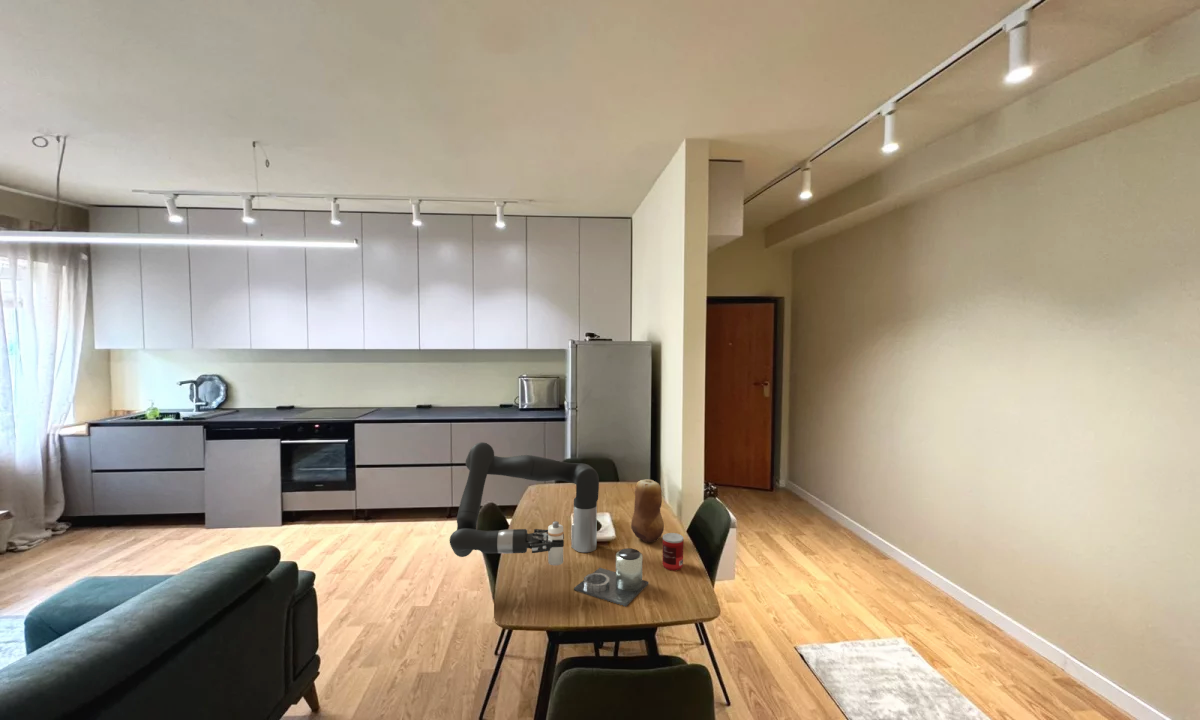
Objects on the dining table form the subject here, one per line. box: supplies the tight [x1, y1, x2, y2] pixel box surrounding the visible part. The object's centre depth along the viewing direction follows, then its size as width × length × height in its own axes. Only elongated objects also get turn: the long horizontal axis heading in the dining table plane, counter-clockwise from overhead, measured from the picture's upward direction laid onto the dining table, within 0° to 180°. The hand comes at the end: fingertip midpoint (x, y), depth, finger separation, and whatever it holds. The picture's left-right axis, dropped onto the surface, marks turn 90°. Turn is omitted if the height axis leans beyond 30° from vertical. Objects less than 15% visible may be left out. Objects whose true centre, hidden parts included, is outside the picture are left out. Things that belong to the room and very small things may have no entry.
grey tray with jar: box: [573, 548, 650, 608], centre depth 166 cm, size 20×17×12 cm
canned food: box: [662, 532, 685, 572], centre depth 182 cm, size 8×8×11 cm
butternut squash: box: [630, 478, 665, 544], centre depth 205 cm, size 14×13×25 cm
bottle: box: [547, 520, 564, 566], centre depth 165 cm, size 5×5×14 cm
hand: (563, 539), depth 165 cm, fingers closed on bottle, 5 cm apart
